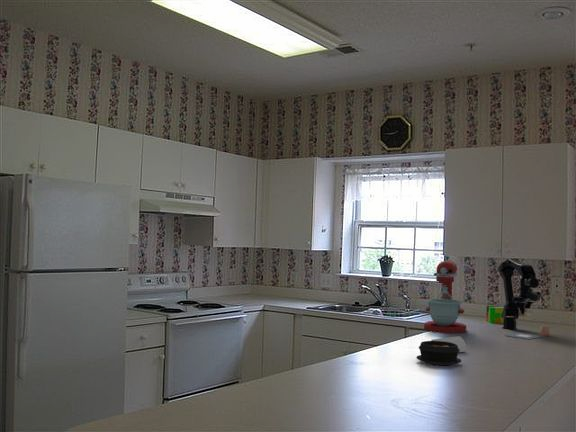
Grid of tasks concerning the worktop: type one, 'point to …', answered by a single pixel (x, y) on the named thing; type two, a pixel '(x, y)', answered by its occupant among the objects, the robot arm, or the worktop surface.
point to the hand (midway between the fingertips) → (525, 314)
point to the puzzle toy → (494, 314)
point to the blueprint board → (523, 336)
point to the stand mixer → (445, 303)
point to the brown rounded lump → (544, 331)
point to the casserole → (438, 353)
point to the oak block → (525, 312)
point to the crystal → (455, 340)
